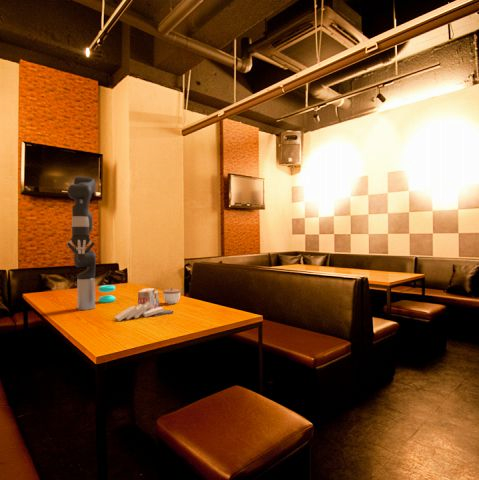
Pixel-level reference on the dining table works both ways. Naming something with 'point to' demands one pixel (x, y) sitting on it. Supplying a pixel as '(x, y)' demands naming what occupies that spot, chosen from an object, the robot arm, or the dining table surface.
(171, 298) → the lidded jar
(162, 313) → the domino
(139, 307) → the domino
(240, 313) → the dining table surface
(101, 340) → the dining table surface
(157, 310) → the domino
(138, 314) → the domino
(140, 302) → the stack of blocks
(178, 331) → the dining table surface
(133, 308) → the domino
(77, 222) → the robot arm
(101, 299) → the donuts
